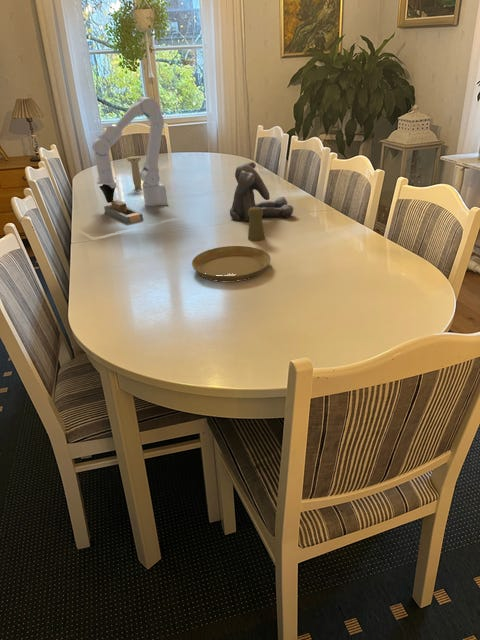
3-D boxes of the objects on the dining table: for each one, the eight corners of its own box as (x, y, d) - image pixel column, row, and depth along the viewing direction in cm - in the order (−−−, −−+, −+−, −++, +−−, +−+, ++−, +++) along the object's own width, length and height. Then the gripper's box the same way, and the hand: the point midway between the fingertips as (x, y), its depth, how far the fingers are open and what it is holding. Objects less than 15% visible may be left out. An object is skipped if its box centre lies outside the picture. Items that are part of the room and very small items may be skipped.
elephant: (294, 221, 199) (294, 166, 189) (229, 224, 199) (226, 170, 189) (289, 206, 217) (289, 155, 207) (230, 209, 217) (227, 159, 208)
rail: (121, 210, 223) (120, 202, 222) (144, 221, 207) (143, 213, 206) (104, 214, 219) (102, 206, 218) (126, 226, 203) (125, 217, 202)
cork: (267, 235, 185) (266, 205, 180) (262, 241, 180) (261, 210, 175) (250, 234, 187) (249, 204, 182) (245, 240, 182) (244, 209, 177)
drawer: (119, 211, 219) (117, 200, 216) (127, 215, 213) (126, 203, 210) (113, 213, 217) (111, 201, 215) (121, 217, 211) (119, 205, 209)
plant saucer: (244, 291, 145) (243, 280, 143) (176, 277, 157) (175, 266, 155) (284, 262, 163) (284, 252, 161) (221, 251, 174) (220, 241, 173)
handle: (144, 188, 257) (140, 157, 250) (131, 189, 256) (126, 158, 249) (144, 186, 261) (140, 155, 254) (132, 187, 260) (127, 156, 253)
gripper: (88, 168, 217) (94, 200, 223) (102, 173, 206) (108, 207, 213) (104, 166, 220) (109, 197, 227) (118, 171, 210) (124, 204, 216)
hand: (110, 202), depth 220 cm, fingers closed
